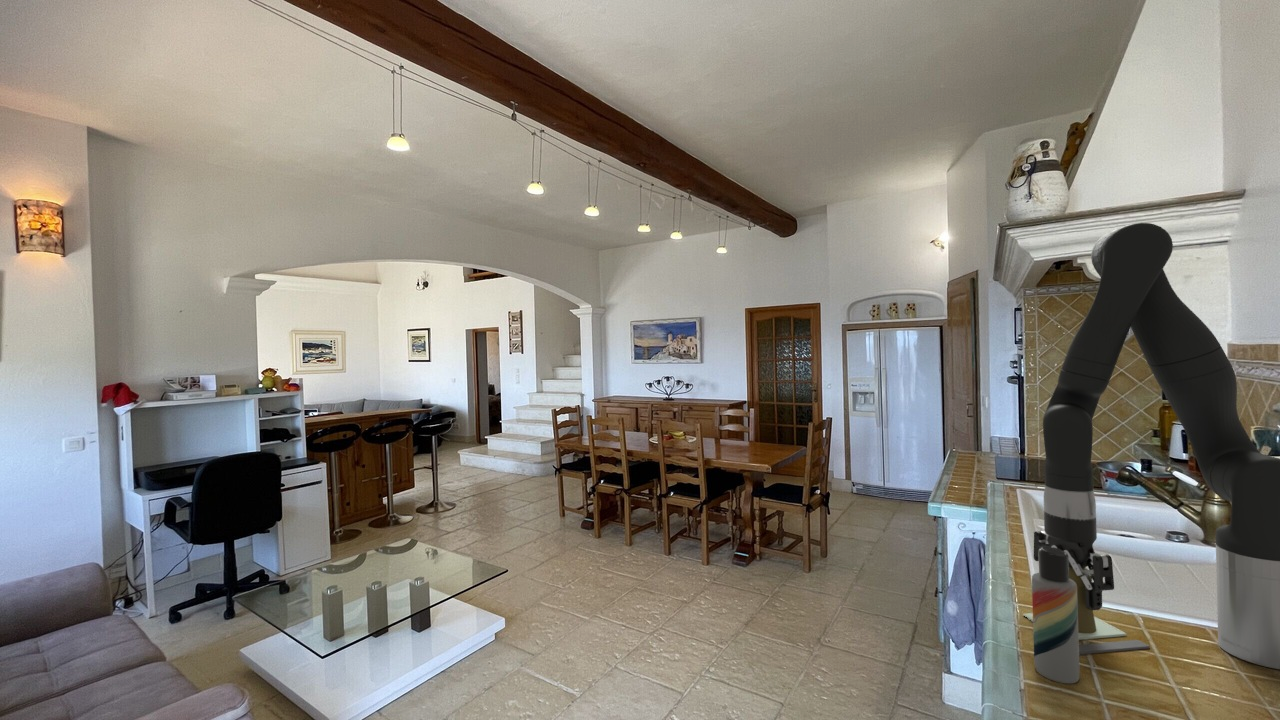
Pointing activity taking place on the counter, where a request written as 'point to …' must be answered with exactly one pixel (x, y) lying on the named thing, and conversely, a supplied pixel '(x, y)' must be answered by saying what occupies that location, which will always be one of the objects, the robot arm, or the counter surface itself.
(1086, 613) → the cork
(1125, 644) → the charcoal line
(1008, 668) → the counter surface
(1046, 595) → the lotion bottle
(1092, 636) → the mat
